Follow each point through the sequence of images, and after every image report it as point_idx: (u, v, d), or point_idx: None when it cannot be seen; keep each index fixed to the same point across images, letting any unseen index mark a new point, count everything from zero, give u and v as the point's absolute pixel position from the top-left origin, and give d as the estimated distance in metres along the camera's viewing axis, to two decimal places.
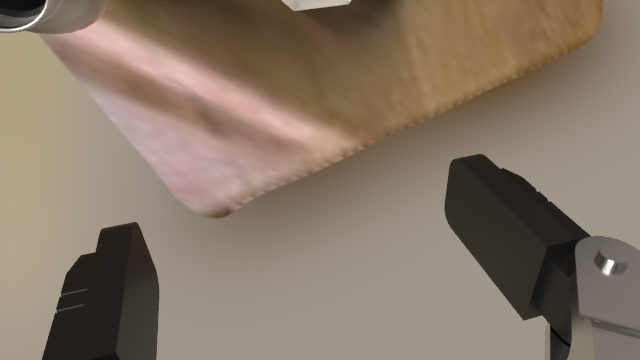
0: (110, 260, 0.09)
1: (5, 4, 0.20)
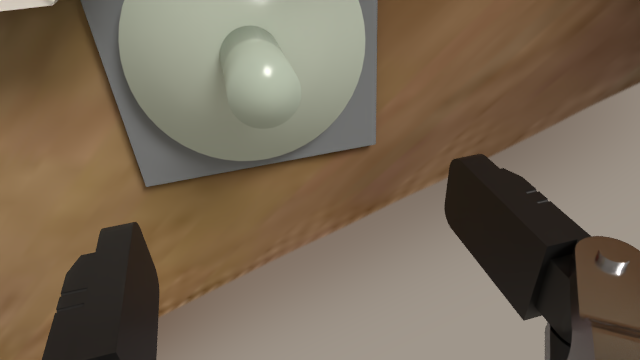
0: (110, 260, 0.09)
1: None
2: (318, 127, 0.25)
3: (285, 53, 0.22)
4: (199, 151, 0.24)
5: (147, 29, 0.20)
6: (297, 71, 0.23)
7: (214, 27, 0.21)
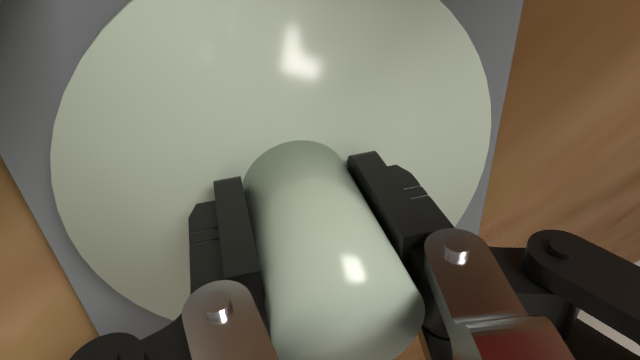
0: (230, 204, 0.10)
1: None
2: None
3: None
4: None
5: (107, 159, 0.11)
6: None
7: (233, 148, 0.11)
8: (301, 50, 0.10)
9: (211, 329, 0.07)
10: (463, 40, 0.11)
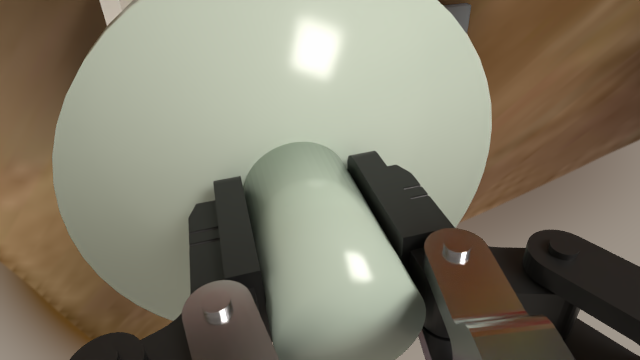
0: (230, 204, 0.10)
1: None
2: None
3: None
4: None
5: (109, 161, 0.11)
6: None
7: (234, 149, 0.11)
8: (302, 52, 0.10)
9: (211, 329, 0.07)
10: (464, 42, 0.11)
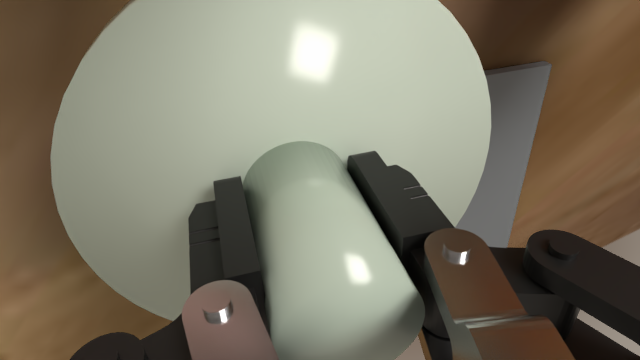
0: (230, 204, 0.10)
1: None
2: None
3: None
4: None
5: (107, 161, 0.11)
6: None
7: (233, 148, 0.11)
8: (301, 51, 0.10)
9: (211, 329, 0.07)
10: (464, 41, 0.11)
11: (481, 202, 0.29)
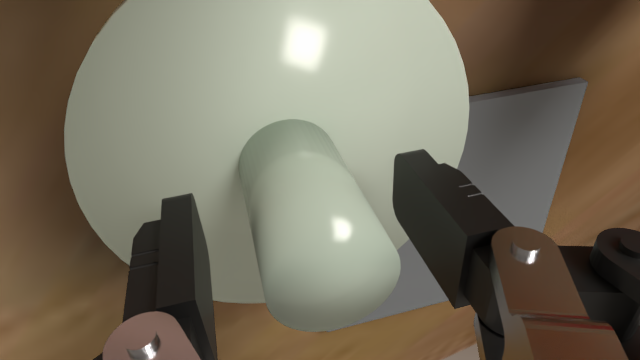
0: (175, 224, 0.10)
1: None
2: None
3: (343, 156, 0.14)
4: None
5: (115, 135, 0.12)
6: (360, 180, 0.15)
7: (230, 125, 0.12)
8: (292, 35, 0.11)
9: None
10: (441, 27, 0.12)
11: None
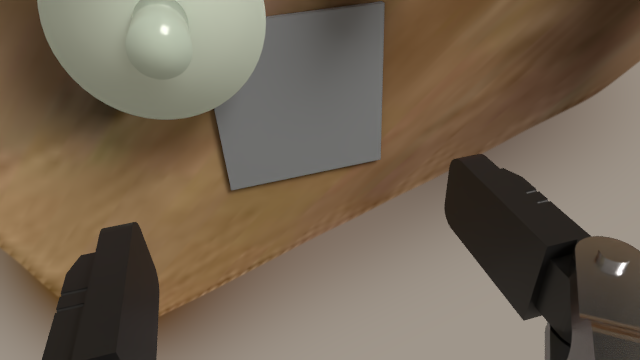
0: (110, 260, 0.09)
1: None
2: (230, 88, 0.28)
3: (192, 20, 0.25)
4: (122, 110, 0.27)
5: None
6: (205, 36, 0.26)
7: None
8: None
9: None
10: None
11: (351, 113, 0.38)
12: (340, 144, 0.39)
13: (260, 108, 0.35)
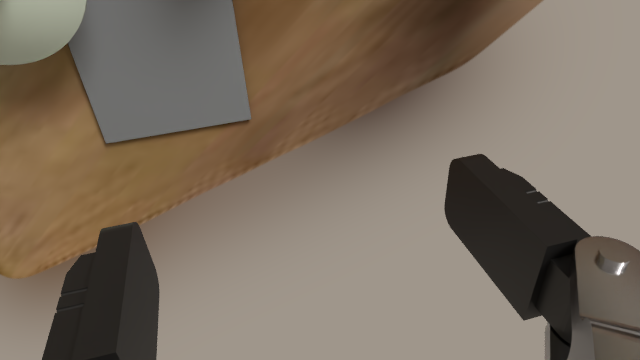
0: (110, 260, 0.09)
1: None
2: (62, 38, 0.32)
3: None
4: None
5: None
6: None
7: None
8: None
9: None
10: None
11: (213, 73, 0.42)
12: (207, 102, 0.43)
13: (121, 65, 0.39)
